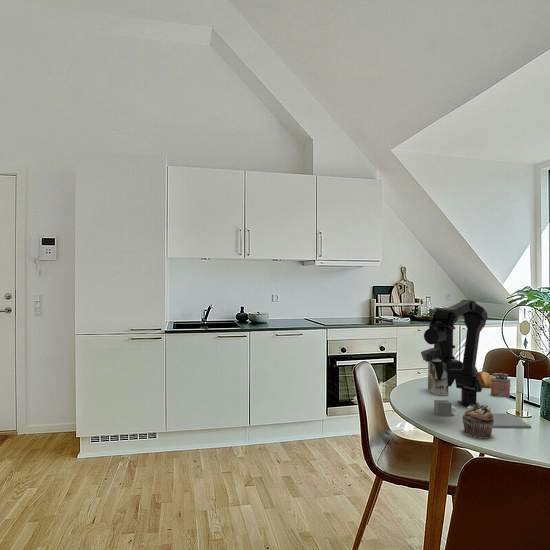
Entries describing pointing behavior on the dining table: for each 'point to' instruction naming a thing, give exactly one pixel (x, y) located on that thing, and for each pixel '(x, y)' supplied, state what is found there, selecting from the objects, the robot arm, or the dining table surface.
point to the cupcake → (478, 420)
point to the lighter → (500, 385)
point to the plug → (443, 408)
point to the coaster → (508, 421)
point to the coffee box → (436, 382)
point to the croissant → (486, 379)
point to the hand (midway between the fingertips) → (444, 383)
